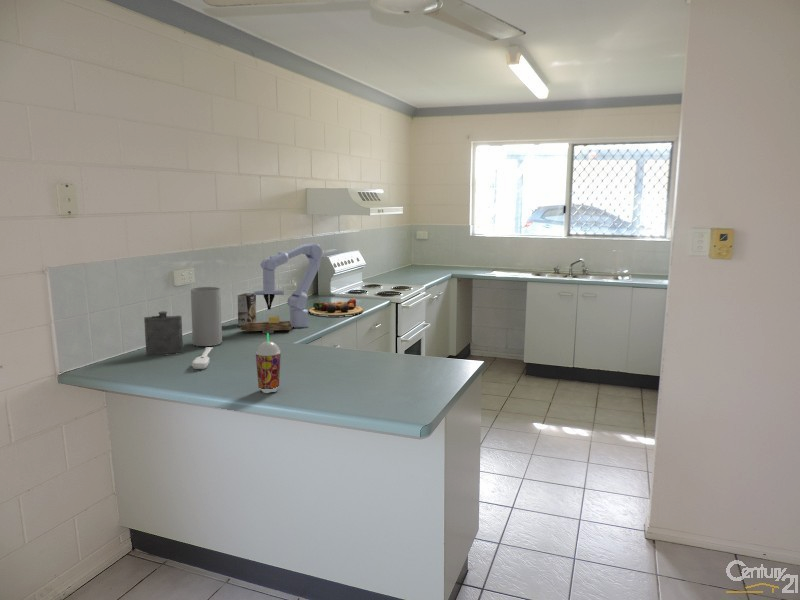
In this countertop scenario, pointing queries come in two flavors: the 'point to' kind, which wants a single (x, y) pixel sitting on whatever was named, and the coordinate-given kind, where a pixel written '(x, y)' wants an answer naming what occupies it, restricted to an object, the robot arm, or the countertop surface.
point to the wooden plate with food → (336, 308)
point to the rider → (273, 319)
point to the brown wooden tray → (265, 326)
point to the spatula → (202, 360)
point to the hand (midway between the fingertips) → (269, 309)
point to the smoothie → (268, 364)
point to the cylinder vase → (206, 316)
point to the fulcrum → (268, 331)
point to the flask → (163, 334)
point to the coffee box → (246, 308)
